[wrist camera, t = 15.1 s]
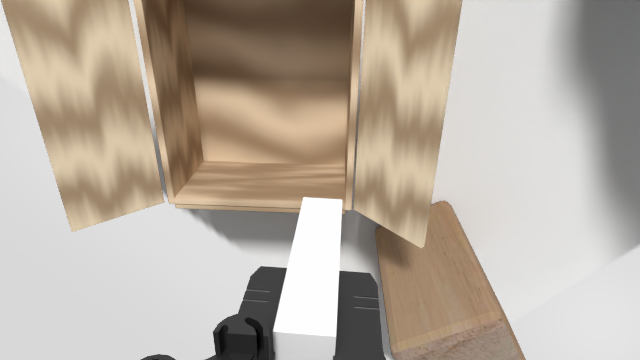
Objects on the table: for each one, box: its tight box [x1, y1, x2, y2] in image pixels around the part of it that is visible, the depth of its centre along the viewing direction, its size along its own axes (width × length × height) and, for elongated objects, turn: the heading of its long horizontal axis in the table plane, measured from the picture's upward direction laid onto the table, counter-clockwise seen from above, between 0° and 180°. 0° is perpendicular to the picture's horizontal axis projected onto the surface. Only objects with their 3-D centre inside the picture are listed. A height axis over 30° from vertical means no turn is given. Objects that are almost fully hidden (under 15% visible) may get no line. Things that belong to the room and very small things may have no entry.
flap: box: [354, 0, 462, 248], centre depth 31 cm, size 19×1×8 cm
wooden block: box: [375, 201, 526, 360], centre depth 43 cm, size 10×10×20 cm
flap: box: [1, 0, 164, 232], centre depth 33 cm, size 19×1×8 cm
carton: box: [134, 0, 363, 214], centre depth 39 cm, size 21×18×10 cm
